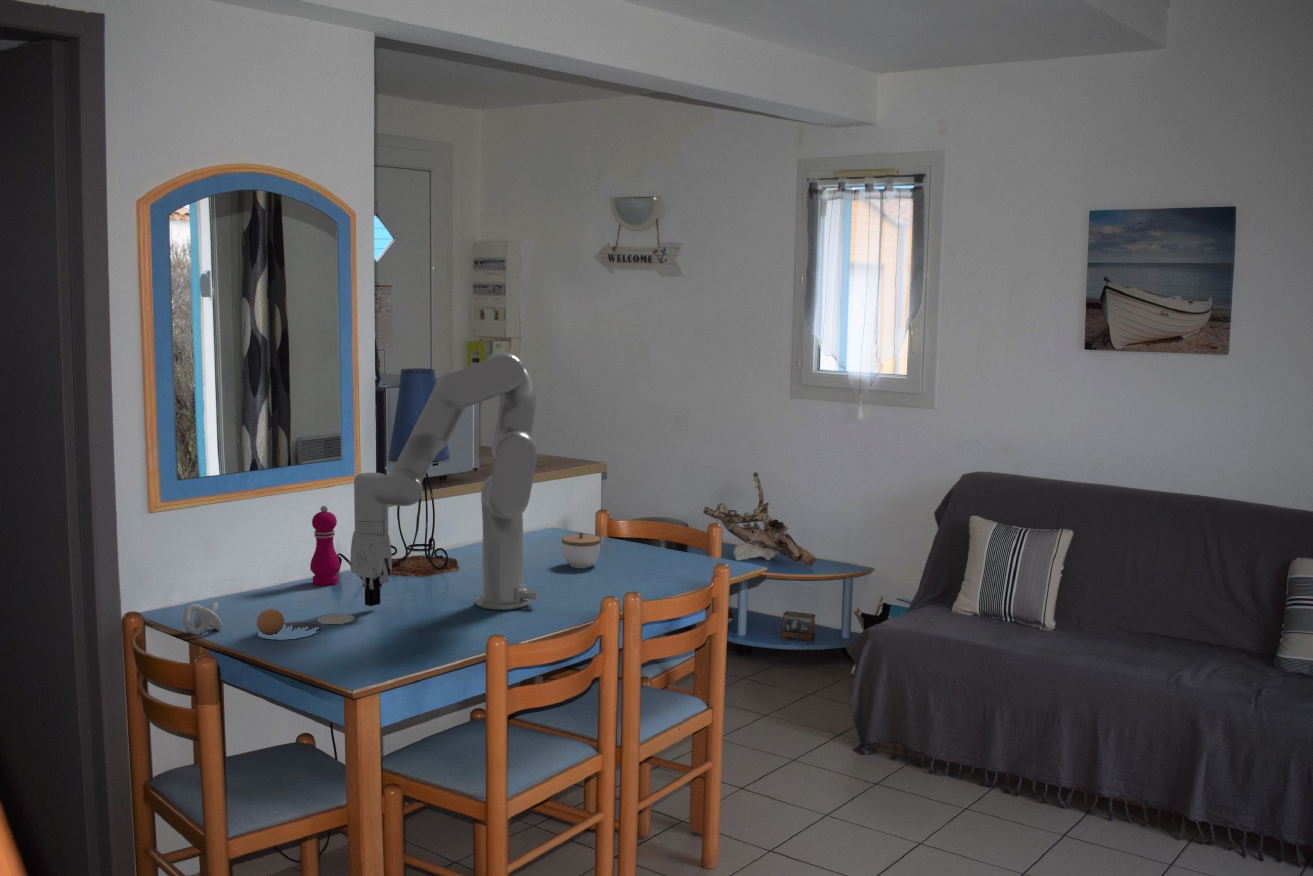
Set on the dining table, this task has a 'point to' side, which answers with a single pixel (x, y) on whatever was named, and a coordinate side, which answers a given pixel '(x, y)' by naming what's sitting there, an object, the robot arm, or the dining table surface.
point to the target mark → (301, 625)
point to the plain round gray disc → (335, 619)
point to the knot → (206, 621)
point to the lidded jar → (581, 550)
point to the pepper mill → (324, 549)
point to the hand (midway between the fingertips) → (372, 604)
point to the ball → (270, 622)
